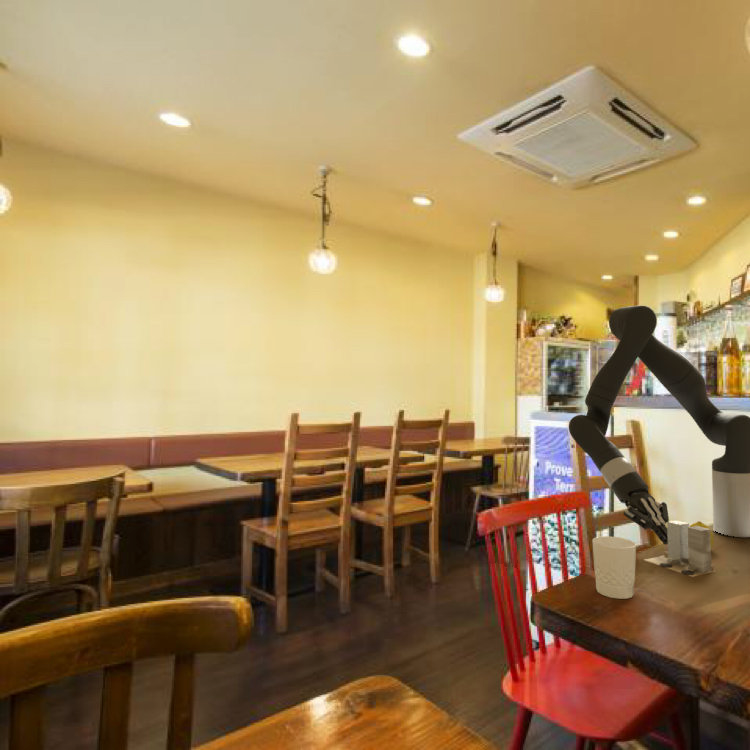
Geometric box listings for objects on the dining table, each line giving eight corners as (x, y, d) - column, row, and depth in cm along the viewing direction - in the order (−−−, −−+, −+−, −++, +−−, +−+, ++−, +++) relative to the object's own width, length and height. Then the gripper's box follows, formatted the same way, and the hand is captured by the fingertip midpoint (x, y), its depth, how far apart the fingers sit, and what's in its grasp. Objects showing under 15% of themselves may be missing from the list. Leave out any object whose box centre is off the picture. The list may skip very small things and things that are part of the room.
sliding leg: (677, 559, 117) (676, 520, 118) (689, 564, 115) (688, 523, 115) (662, 562, 115) (661, 522, 116) (675, 567, 113) (674, 525, 113)
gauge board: (665, 560, 121) (664, 516, 121) (715, 576, 110) (714, 528, 111) (642, 565, 118) (641, 520, 118) (691, 582, 107) (690, 533, 108)
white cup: (599, 581, 108) (599, 534, 108) (641, 591, 103) (640, 540, 103) (588, 593, 102) (587, 542, 102) (631, 604, 97) (630, 550, 97)
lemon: (712, 559, 121) (712, 525, 122) (685, 555, 125) (684, 522, 125) (714, 553, 126) (713, 520, 126) (688, 549, 129) (687, 517, 129)
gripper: (613, 472, 124) (660, 537, 112) (651, 468, 129) (700, 530, 118) (595, 490, 129) (639, 554, 117) (633, 486, 134) (678, 547, 122)
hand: (669, 542), depth 117 cm, fingers closed
